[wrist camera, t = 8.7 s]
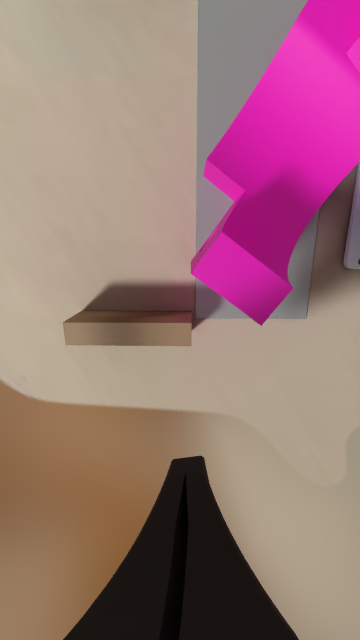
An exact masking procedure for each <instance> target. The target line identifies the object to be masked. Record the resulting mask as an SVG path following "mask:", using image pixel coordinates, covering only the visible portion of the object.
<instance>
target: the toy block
mask: <svg viewBox="0 0 360 640" xmlns="http://www.w3.org/2000/svg"><path fill="white" fill-rule="evenodd" d="M359 161H360V0H308V2H307V3H306V5H305V6H304V8H303V9H302V11H301V12H300V14H299V16H298V18H297V19H296V21H295V23H294V24H293V26H292V28H291V30H290V31H289V33H288V35H287V36H286V38H285V40H284V41H283V43H282V45H281V46H280V48H279V50H278V51H277V53H276V55H275V56H274V58H273V60H272V61H271V63H270V65H269V66H268V68H267V69H266V71H265V73H264V74H263V76H262V78H261V79H260V81H259V82H258V84H257V86H256V87H255V89H254V90H253V92H252V93H251V95H250V97H249V98H248V100H247V101H246V103H245V104H244V106H243V107H242V109H241V110H240V112H239V113H238V115H237V116H236V118H235V119H234V121H233V122H232V124H231V125H230V127H229V128H228V130H227V131H226V133H225V134H224V136H223V137H222V138H221V140H220V141H219V143H218V144H217V145H216V147H215V148H214V150H213V151H212V152H211V154H210V155H209V156H208V158H207V159H206V164H205V169H204V175H203V176H204V177H205V178H206V179H207V180H209V181H210V182H211V183H212V184H214V185H215V186H216V187H217V188H219V189H220V190H221V191H222V192H224V193H225V194H226V195H227V196H229V197H230V198H231V199H232V200H233V201H234V203H233V204H232V206H231V207H230V208H229V210H228V211H227V212H226V214H225V215H224V217H223V218H222V219H221V221H220V222H219V224H218V225H217V226H216V228H215V229H214V230H213V232H212V233H211V235H210V236H209V237H208V239H207V240H206V242H205V243H204V244H203V246H202V247H201V248H200V250H199V251H198V253H197V254H196V255H195V257H194V258H193V260H192V261H191V274H192V275H194V276H195V277H196V278H198V279H199V280H200V281H202V282H203V283H204V284H206V285H207V286H208V287H210V288H211V289H212V290H214V291H215V292H217V293H218V294H219V295H221V296H222V297H223V298H225V299H226V300H227V301H229V302H230V303H231V304H233V305H234V306H235V307H237V308H238V309H239V310H241V311H242V312H244V313H245V314H246V315H248V316H249V317H250V318H252V319H253V320H254V321H256V322H257V323H258V324H260V325H262V324H263V323H264V322H265V321H266V320H267V319H268V317H269V316H270V315H271V314H272V313H273V312H274V310H275V309H276V308H277V307H278V306H279V305H280V303H281V302H282V301H283V300H284V299H285V298H286V296H287V295H288V294H289V293H290V292H291V291H292V289H293V286H292V285H291V284H290V282H289V280H288V265H289V261H290V258H291V255H292V252H293V250H294V248H295V246H296V243H297V241H298V240H299V238H300V236H301V234H302V233H303V231H304V229H305V228H306V226H307V225H308V223H309V222H310V220H311V219H312V217H313V216H314V215H315V213H316V212H317V210H318V209H319V208H320V206H321V205H322V204H323V203H324V201H325V200H326V199H327V197H328V196H329V195H330V194H331V193H332V191H333V190H334V189H335V188H336V187H337V186H338V184H339V183H340V182H341V181H342V180H343V179H344V178H345V176H346V175H347V174H348V173H349V172H350V171H351V170H352V169H353V168H354V167H355V166H356V164H357V163H358V162H359Z"/></svg>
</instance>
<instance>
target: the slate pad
mask: <svg viewBox="0 0 360 640" xmlns="http://www.w3.org/2000/svg"><path fill="white" fill-rule="evenodd" d="M307 2H308V0H198V96H197V206H196V254H197V253H198V251H199V250H200V248H201V247H202V246H203V244H204V243H205V242H206V240H207V239H208V237H209V236H210V235H211V233H212V232H213V230H214V229H215V228H216V226H217V225H218V224H219V222H220V221H221V219H222V218H223V217H224V215H225V214H226V212H227V211H228V210H229V208H230V207H231V206H232V204H233V203H234V201H233V200H232V199H231V198H230V197H229V196H227V195H226V194H225V193H224V192H222V191H221V190H220V189H219V188H217V187H216V186H215V185H214V184H212V183H211V182H210V181H209V180H207V179H206V178H205V177H204V176H203V175H204V169H205V164H206V159H207V158H208V156H209V155H210V154H211V152H212V151H213V150H214V148H215V147H216V145H217V144H218V143H219V141H220V140H221V138H222V137H223V136H224V134H225V133H226V131H227V130H228V128H229V127H230V125H231V124H232V122H233V121H234V119H235V118H236V116H237V115H238V113H239V112H240V110H241V109H242V107H243V106H244V104H245V103H246V101H247V100H248V98H249V97H250V95H251V93H252V92H253V90H254V89H255V87H256V86H257V84H258V82H259V81H260V79H261V78H262V76H263V74H264V73H265V71H266V69H267V68H268V66H269V65H270V63H271V61H272V60H273V58H274V56H275V55H276V53H277V51H278V50H279V48H280V46H281V45H282V43H283V41H284V40H285V38H286V36H287V35H288V33H289V31H290V30H291V28H292V26H293V24H294V23H295V21H296V19H297V18H298V16H299V14H300V12H301V11H302V9H303V8H304V6H305V5H306V3H307ZM319 210H320V208H319V209H318V210H317V212H316V213H315V215H314V216H313V217H312V219H311V220H310V222H309V223H308V225H307V226H306V228H305V229H304V231H303V233H302V234H301V236H300V238H299V240H298V241H297V243H296V246H295V248H294V250H293V252H292V255H291V258H290V261H289V265H288V280H289V282H290V284H291V285H292V286H293V289H292V291H291V292H290V293H289V294H288V295H287V296H286V298H285V299H284V300H283V301H282V302H281V303H280V305H279V306H278V307H277V308H276V309H275V310H274V312H273V313H272V314H271V315H270V316H269V317H268V319H306V313H307V305H308V297H309V290H310V282H311V274H312V266H313V258H314V250H315V242H316V234H317V226H318V218H319ZM195 318H250V317H249V316H248V315H246V314H245V313H244V312H242V311H241V310H239V309H238V308H237V307H235V306H234V305H233V304H231V303H230V302H229V301H227V300H226V299H225V298H223V297H222V296H221V295H219V294H218V293H217V292H215V291H214V290H212V289H211V288H210V287H208V286H207V285H206V284H204V283H203V282H202V281H200V280H199V279H198V278H196V317H195Z"/></svg>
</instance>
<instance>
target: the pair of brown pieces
mask: <svg viewBox="0 0 360 640" xmlns="http://www.w3.org/2000/svg"><path fill="white" fill-rule="evenodd" d="M191 324H192V323H191V311H81V312H79V313H78V314H76V315H74V316H73V317H71V318H69V319H68V320H66V321H65V322H63V327H64V335H65V343H66V345H117V346H191Z"/></svg>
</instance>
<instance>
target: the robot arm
mask: <svg viewBox="0 0 360 640" xmlns="http://www.w3.org/2000/svg"><path fill="white" fill-rule="evenodd" d="M359 259H360V161H359V164H358V171H357V177H356V184H355V190H354V196H353V203H352V209H351V216H350V222H349V229H348V235H347V241H346V248H345V254H344V261H343V262H344V266H345V267H346V268H349V269H360V265H359V264H358V260H359ZM63 640H299V639H298V637H297V636H296V634H295V633H294V631H293V630H292V629H291V627H290V626H289V625H288V623H287V622H286V620H285V619H284V618H283V616H282V615H281V613H280V612H279V611H278V609H277V608H276V606H275V605H274V604H273V602H272V600H271V599H270V598H269V596H268V594H267V593H266V592H265V590H264V589H263V587H262V585H261V584H260V582H259V581H258V579H257V577H256V576H255V574H254V573H253V571H252V570H251V568H250V566H249V564H248V563H247V561H246V560H245V558H244V556H243V555H242V553H241V551H240V549H239V547H238V545H237V544H236V542H235V540H234V538H233V536H232V534H231V532H230V530H229V528H228V526H227V525H226V522H225V520H224V518H223V516H222V514H221V512H220V509H219V507H218V505H217V502H216V500H215V497H214V495H213V492H212V489H211V487H210V484H209V480H208V475H207V470H206V465H205V460H204V457H202V456H195V457H188V458H179V459H173V460H172V462H171V465H170V468H169V470H168V473H167V476H166V479H165V481H164V484H163V486H162V488H161V491H160V493H159V495H158V498H157V500H156V502H155V504H154V506H153V509H152V511H151V513H150V514H149V516H148V518H147V520H146V523H145V524H144V526H143V528H142V530H141V532H140V534H139V536H138V537H137V539H136V541H135V543H134V544H133V546H132V547H131V549H130V551H129V552H128V554H127V556H126V557H125V559H124V560H123V562H122V563H121V565H120V566H119V568H118V569H117V571H116V573H115V574H114V575H113V577H112V578H111V580H110V581H109V583H108V584H107V585H106V587H105V588H104V589H103V591H102V592H101V593H100V595H99V596H98V597H97V599H96V600H95V601H94V602H93V604H92V605H91V606H90V608H89V609H88V611H87V612H86V613H85V614H84V616H83V617H82V618H81V619H80V620H79V622H78V623H77V624H76V625H75V626H74V628H73V629H72V630H71V631H70V632H69V634H68V635H67V636H66V637H65V638H64V639H63Z"/></svg>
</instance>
